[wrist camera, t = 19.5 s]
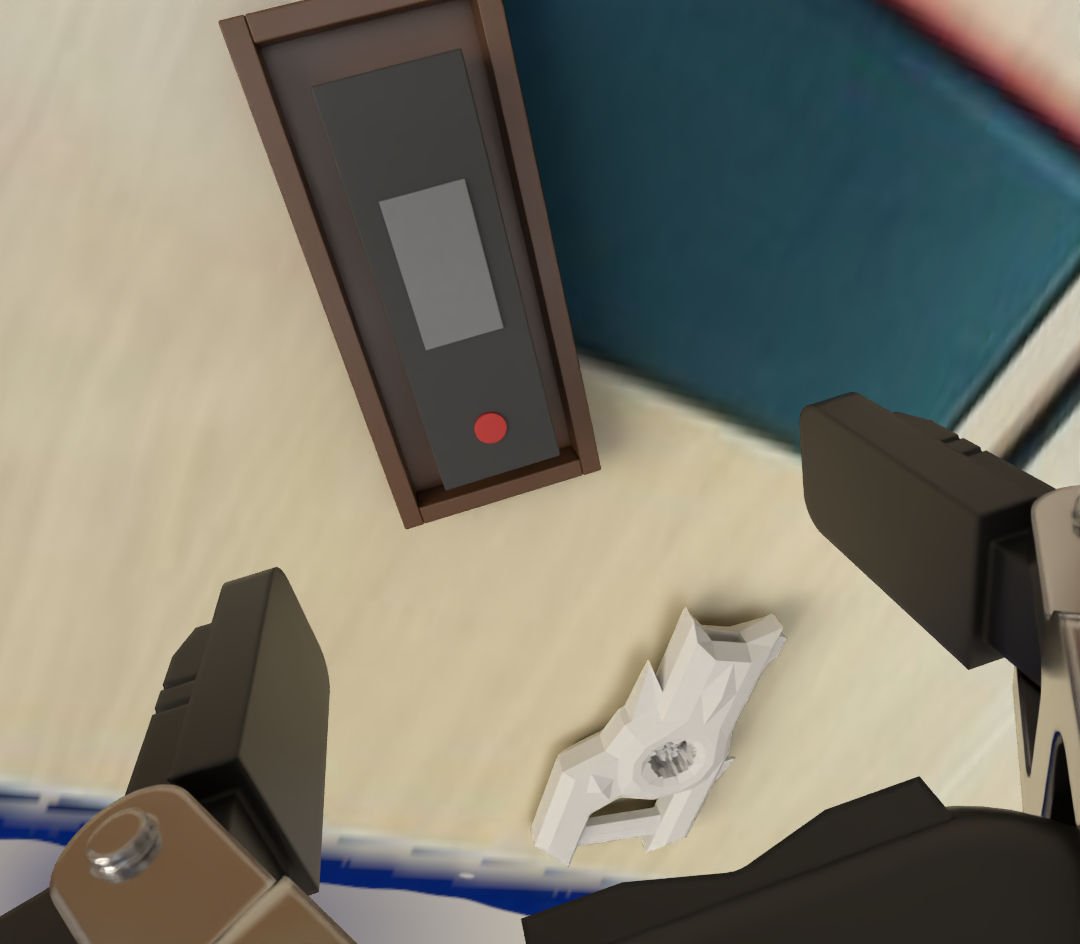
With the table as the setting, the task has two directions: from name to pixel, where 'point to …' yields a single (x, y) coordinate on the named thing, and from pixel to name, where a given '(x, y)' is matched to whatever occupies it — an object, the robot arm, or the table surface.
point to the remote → (441, 261)
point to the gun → (659, 741)
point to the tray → (334, 241)
